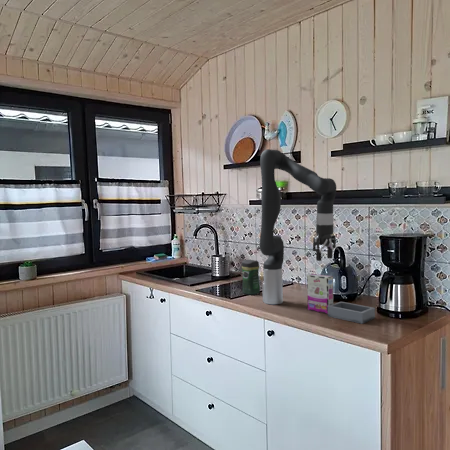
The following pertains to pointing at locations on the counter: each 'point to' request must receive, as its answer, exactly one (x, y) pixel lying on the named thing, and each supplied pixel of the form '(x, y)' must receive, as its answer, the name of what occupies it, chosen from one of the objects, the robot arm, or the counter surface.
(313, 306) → the candy bar box
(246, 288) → the coffee jar
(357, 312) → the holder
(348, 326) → the counter surface
